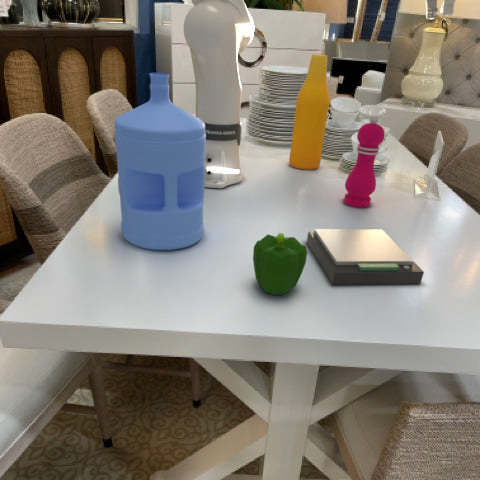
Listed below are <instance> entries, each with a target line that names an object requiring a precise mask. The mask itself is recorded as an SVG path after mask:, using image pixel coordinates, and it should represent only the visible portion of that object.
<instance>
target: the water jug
mask: <svg viewBox="0 0 480 480" xmlns="http://www.w3.org/2000/svg"><path fill="white" fill-rule="evenodd" d="M149 77H150V84H149V89H150V98H149V100H148V101H146V102H145V103H143V104H141V105H139V106H137V107H135V108H133V109H131V110H129V111H127V112H124V113H122V114H120V115H119V116H117V117H116V118H115V120H114V131H113V133H114V145H115V150H116V162H117V175H118V178H117V187H118V189H117V190H118V194H119V201H120V215H121V221H120V230H121V234H122V236H123V238H124V239H125V241H126V240H127V242H128V243H130V244H132V245H134V246H137V247H139V248H143V249H146V250H153V251H172V250H180V249H184V248H188V247H190V246H193V245H194V244H196V243H198V242H199V241H200V240H201V239H202V237H203V235H204V228H205V227H204V225H205V223H204V195H205V187H204V159H205V146H206V134H205V124H204V122H203V121H202V120H200V119H199V118H197V117H196V115H193V114H192V113H190V112H189V111H186V110H185V109H183V108H181V107H180V106H178V105H176V104H174V103H173V102H172V101H171V99H170V84H169V78H170V74H169V73H165V72H150V73H149Z"/></svg>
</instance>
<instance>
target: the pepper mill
mask: <svg viewBox="0 0 480 480" xmlns="http://www.w3.org/2000/svg"><path fill="white" fill-rule="evenodd" d="M378 122H379V117H378V116H376V115H372V116H370V119H369V122H367V123H364V124H363V125H361V126H360V127H359V129H358V131H357V135H356V138H357V141H358V143H359V144H357V146H356V147H357V148H356V152H357V158H356V161H355V165H354V166H353V168H352V170H351V171H350V173H349V174H348V176H347V178H346V180H345V183H344V188H345V190H346V193H345V194H344V199H343V202H344V204H346V205H348V206H350V207H354V208H368V207H369V206H370V205H371V201H372V198H371V195H373V193H374V192H375V191H376V189H377V179H376V175H375V169H374V167H375V160H376V157H377V155H379V150H380V149H381V148H380V147H379V146H380V145H381V144H382V143H383V142H384V140H385V135H386V134H385V129H384V128H383V126H382V125H380V124H378Z"/></svg>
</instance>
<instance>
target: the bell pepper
mask: <svg viewBox="0 0 480 480" xmlns="http://www.w3.org/2000/svg"><path fill="white" fill-rule="evenodd" d="M307 249H308V248H307V247H306V245H305V244H302V243H301V242H300V241H299V240H298V239H296V237H294V236H286V237H285V234H284V233H282V232H279V233H278V234H277V235H276V236H274V235H272V234H266V235H265V236H264V237H263V238H262V239H259V240H257V241H256V242H255V244H254V246H253V254H252V262H253V263H252V264H253V269H254V270H253V271H254V275H255V280H256V282H257V284H258V286H259V287H261V288H262V290H264V291H265V292H266V293H267V294H271V295H274V296H277V295H278V296H283V295H285V294H287V293H289V292H290V291H291V290H292V289H294V288H295V287H296V286H297V284H298V282H299V280H300V278H301V276H302V274H303V271H304V268H305V266H306V263H307V258H308V250H307Z"/></svg>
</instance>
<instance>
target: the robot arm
mask: <svg viewBox="0 0 480 480" xmlns="http://www.w3.org/2000/svg"><path fill="white" fill-rule="evenodd" d="M424 1H425V7H426V8H425V9H426V14H425V18H426V19H427V20H433V19H437V18H438V11H439V8H438V0H424ZM191 2H192V4H193V7H191V9H190V10H189V11H188V12H187V14H186V16H185V18H184V22H183V36H184V40H185V42H186V44H187V46H188V48H189V51H190V56H191V62H192V69H193V73H194V81H195V82H194V83H195V117H197V118H199V119H200V120H202V121H203V122H204V124H205V134H206V146H205V159H204V188H212V189H223V188H225V187H227V186H230V185H235V184H238V183H240V182H241V181H242V180H243V174H242V170H241V168H242V167H241V161H240V160H241V159H240V145H241V142H242V122H241V109H242V108H241V107H242V93H243V87H242V83H241V81H240V73H239V63H238V55H239V54H241V53H242V52H245V50H246V49H247V48H248V47H249V45H250V43H251V42H252V40H253V37H254V32H255V25H254V20H253V17H252V15H251V14H250V11H248V8H247V5H246V3H245V1H244V0H191ZM455 3H456V0H443V1H442V5H441V7H440V16H441V17H449V16H452V15H453V14H454V7H455Z"/></svg>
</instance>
